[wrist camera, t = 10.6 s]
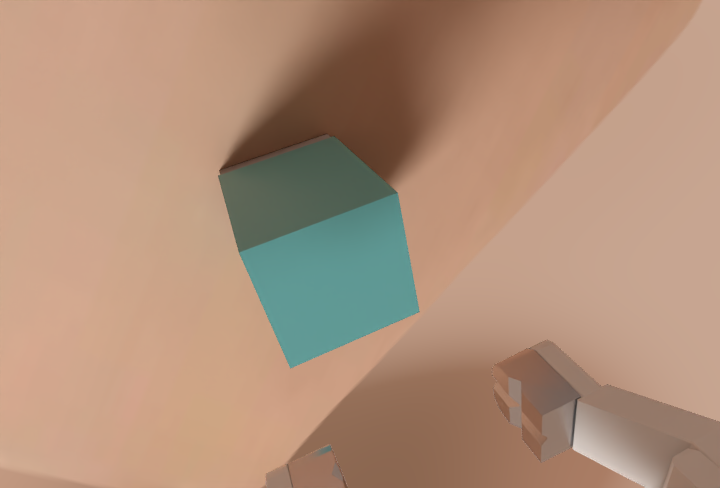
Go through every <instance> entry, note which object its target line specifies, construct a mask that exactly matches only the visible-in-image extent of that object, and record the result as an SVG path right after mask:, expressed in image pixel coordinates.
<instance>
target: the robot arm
mask: <svg viewBox="0 0 720 488" xmlns="http://www.w3.org/2000/svg"><path fill="white" fill-rule="evenodd" d="M492 376H493V377H494V378H495V379H496V380H497V382H496V384H495V385H494V387H493V391H494V397H495V400H496V402H497V405H498V407H499V409H500V410H501V412H502V414H503V415H504V417H505V418H506V419H507V420H508V422H509V423H510V424H512V425H514V426H517V427H519V428H521V429H522V440H523V441H524V442H525V443H526V445H527V446H528V447H529V448H530V450H531V451H532V452H533V453H534V455H535V456H536V457H537V458H538V460H539V461H540V462H541V463H542V462H544V461H546V460H548V459H550V458H552V457H554V456H556V455H558V454H560V453H562V452H564V451H566V450H568V449H570V448H572V447H573V450H575V451H576V452H578V453H580V454H582V455H584V456H586V457H588V458H590V459H592V460H594V461H596V462H598V463H599V464H601V465H603V466H605V467H607V468H609V469H611V470H613V471H615V472H617V473H619V474H621V475H622V476H624V477H626V478H628V479H630V480H632V481H634V482H636V483H638V484H640V485H642V486H644V487H646V488H720V422H719V421H716V420H713V419H710V418H707V417H704V416H701V415H698V414H695V413H692V412H689V411H686V410H683V409H680V408H677V407H674V406H671V405H668V404H665V403H662V402H659V401H656V400H653V399H650V398H647V397H644V396H641V395H638V394H635V393H632V392H629V391H626V390H623V389H620V388H617V387H614V386H611V385H608V384H607V385H604V386H601V385H599V384H598V383H597V382H596V381H595V380H594V379H593V378H592V377H591V376H589V375H588V374H587V373H586V372H585V371H584V370H583V369H582V368H581V367H579V365H577V364H576V363H575V362H574V361H573V360H572V359H571V358H570V357H569V356H567V355H566V354H565V353H564V352H563V351H562V350H561V349H560V348H559V347H558V346H557V345H555V344H554V343H553V342H551V341H549V340H545V341H543V342H540V343H538V344H537V345H534V346H532V347H530V348H528V349H525V350H523V351H521V352H519V353H517V354H515V355H513V356H511V357H509V358H507V359H505V360H503V361H501V362H499V363H497V364H495V365H494V366H493V368H492ZM266 487H267V488H348V486H347V484H346V481H345V479H344V476H343V473H342V471H341V469H340V466H339V464H338V463H337V460H336V457H335V455H334V452H333V450H332V448H331V446H330V444H329V445H327V446H325V447H322V448H320V449H318V450H316V451H314V452H312V453H310V454H307V455H305V456H303V457H301V458H299V459H297V460H294V461H292V462H290V463H287V464H285V465H283V466H281V467H279V468H277V469H275V470H273V471H271V472H268V473H266Z"/></svg>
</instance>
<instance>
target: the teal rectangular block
mask: <svg viewBox="0 0 720 488" xmlns="http://www.w3.org/2000/svg"><path fill="white" fill-rule="evenodd" d="M218 177H219V181H220V185H221V188H222V192H223V196H224V199H225V203H226V207H227V210H228V214H229V218H230V221H231V225H232V229H233V232H234V236H235V240H236V243H237V247H238V251H239V254H240V256H241V258H242V260H243V263H244V265H245V267H246V269H247V272H248V274H249V276H250V278H251V281H252V283H253V285H254V287H255V290H256V292H257V294H258V296H259V299H260V301H261V303H262V305H263V308H264V310H265V312H266V314H267V317H268V319H269V321H270V323H271V326H272V328H273V330H274V332H275V335H276V337H277V339H278V341H279V344H280V346H281V348H282V350H283V353H284V355H285V357H286V359H287V362H288V364H289V366H290V368H292V367H295V366H297V365H299V364H302V363H304V362H306V361H308V360H311V359H313V358H315V357H318V356H320V355H322V354H324V353H327V352H329V351H331V350H334V349H336V348H338V347H340V346H343V345H345V344H347V343H350V342H352V341H354V340H356V339H359V338H361V337H363V336H366V335H368V334H370V333H372V332H375V331H377V330H379V329H382V328H384V327H386V326H389V325H391V324H393V323H395V322H398V321H400V320H402V319H405V318H407V317H409V316H411V315H414V314H416V313H418V312H419V306H418V301H417V295H416V290H415V285H414V279H413V274H412V268H411V263H410V257H409V252H408V246H407V241H406V235H405V230H404V225H403V219H402V214H401V208H400V203H399V197H398V193H397V192H396V191H395V190H394V189H393V188H392V187H391V186H390V185H388V184H387V183H386V182H385V181H384V180H383V179H382V178H381V177H380V176H378V175H377V174H376V173H375V172H374V171H373V170H372V169H371V168H369V167H368V166H367V165H366V164H365V163H364V162H363V161H362V160H361V159H359V158H358V157H357V156H356V155H355V154H354V153H353V152H352V151H350V150H349V149H348V148H347V147H346V146H345V145H344V144H343V143H342V142H340V141H339V140H338V139H337V138H336V137H335V136H333V137H330V138H327V139H324V140H321V141H318V142H315V143H313V144H310V145H307V146H304V147H301V148H298V149H295V150H292V151H289V152H286V153H283V154H280V155H277V156H274V157H272V158H269V159H266V160H263V161H260V162H257V163H254V164H251V165H248V166H245V167H242V168H239V169H236V170H233V171H230V172H228V173H225V174H222V175H219V176H218Z"/></svg>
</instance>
